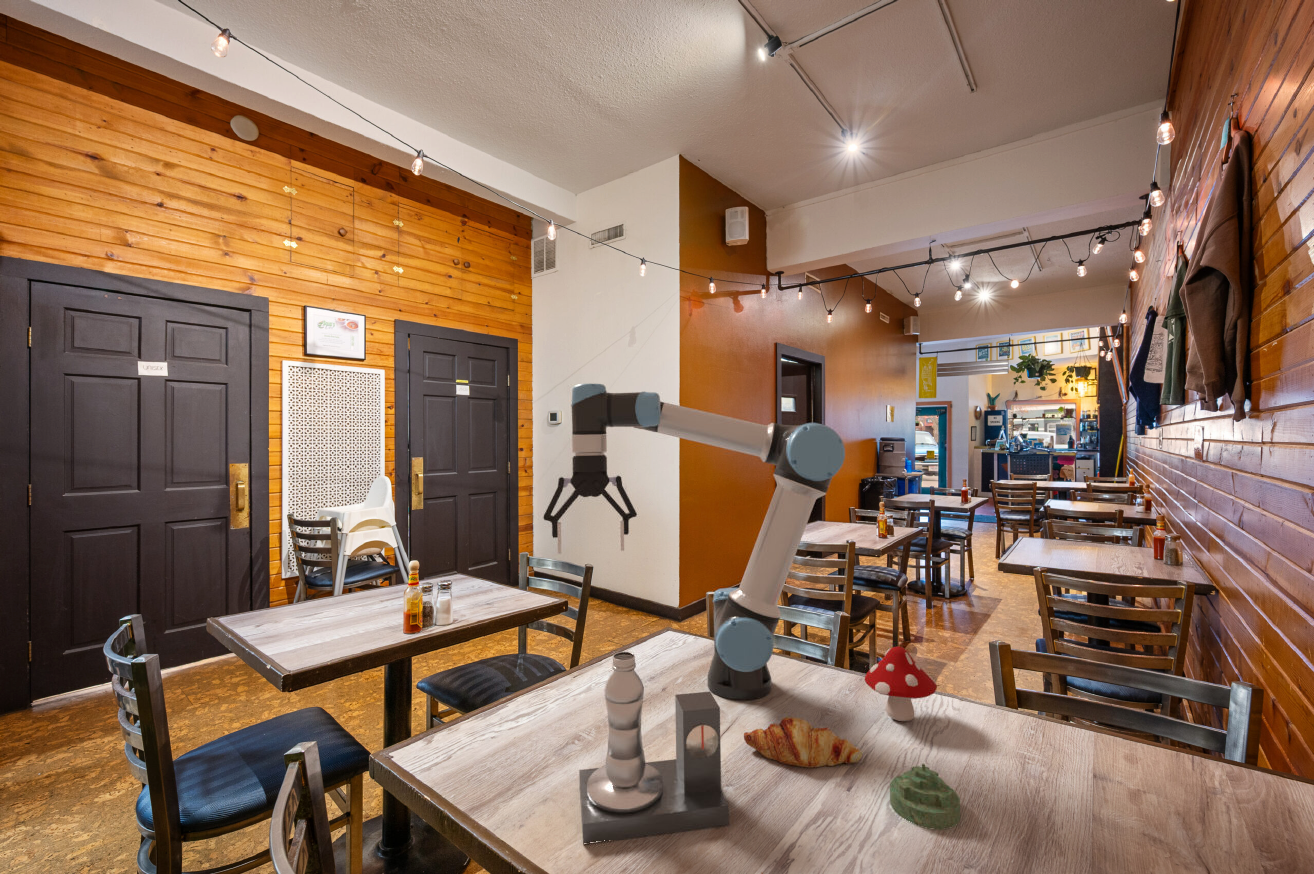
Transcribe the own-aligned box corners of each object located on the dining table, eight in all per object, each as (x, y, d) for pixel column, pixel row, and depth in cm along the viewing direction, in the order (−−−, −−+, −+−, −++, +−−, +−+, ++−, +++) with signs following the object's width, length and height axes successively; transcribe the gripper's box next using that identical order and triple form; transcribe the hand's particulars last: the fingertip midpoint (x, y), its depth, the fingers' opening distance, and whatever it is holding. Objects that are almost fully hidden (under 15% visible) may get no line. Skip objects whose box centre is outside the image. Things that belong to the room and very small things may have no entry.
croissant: (860, 774, 106) (858, 725, 109) (866, 775, 97) (863, 723, 101) (744, 758, 110) (746, 712, 114) (740, 758, 102) (742, 709, 106)
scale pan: (655, 763, 98) (655, 757, 98) (669, 806, 86) (669, 800, 86) (585, 771, 96) (585, 765, 96) (589, 817, 84) (589, 810, 84)
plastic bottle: (648, 769, 94) (646, 648, 94) (643, 794, 88) (641, 664, 88) (609, 767, 95) (607, 647, 95) (601, 792, 88) (599, 663, 88)
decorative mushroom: (927, 705, 125) (926, 636, 125) (948, 737, 111) (946, 660, 111) (860, 701, 127) (858, 634, 127) (872, 732, 113) (870, 656, 114)
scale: (705, 772, 100) (704, 681, 101) (728, 825, 87) (727, 719, 87) (579, 787, 97) (578, 692, 97) (583, 844, 83) (581, 734, 83)
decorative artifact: (966, 805, 91) (900, 782, 97) (965, 761, 91) (900, 741, 97) (951, 839, 83) (881, 812, 89) (950, 791, 83) (880, 767, 90)
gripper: (643, 453, 131) (644, 545, 131) (532, 455, 127) (533, 550, 127) (648, 453, 124) (649, 551, 124) (530, 455, 120) (532, 557, 120)
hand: (590, 551), depth 125 cm, fingers open, 13 cm apart
